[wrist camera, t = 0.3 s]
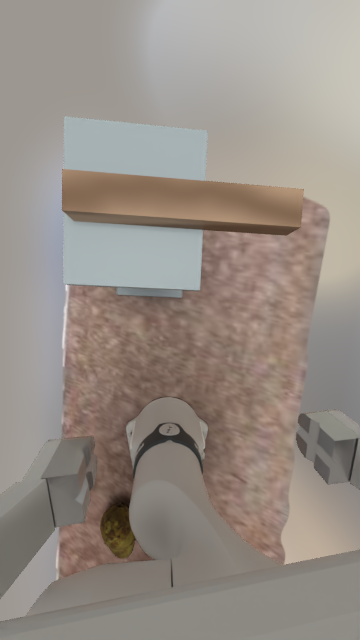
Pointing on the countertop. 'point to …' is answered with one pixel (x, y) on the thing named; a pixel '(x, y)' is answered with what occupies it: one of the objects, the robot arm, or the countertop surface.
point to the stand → (133, 240)
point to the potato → (118, 530)
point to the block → (180, 203)
